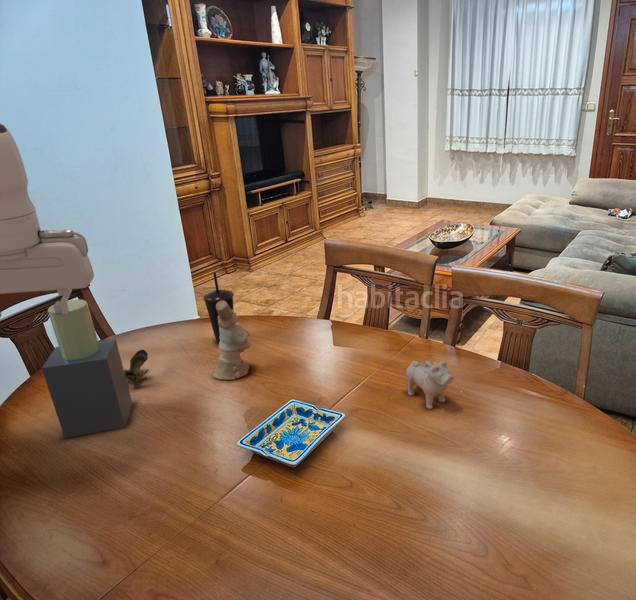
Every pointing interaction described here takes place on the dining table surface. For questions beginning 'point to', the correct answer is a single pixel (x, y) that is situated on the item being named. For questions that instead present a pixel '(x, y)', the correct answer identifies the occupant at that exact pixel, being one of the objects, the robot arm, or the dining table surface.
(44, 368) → the stand
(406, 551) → the dining table surface
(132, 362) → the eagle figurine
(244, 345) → the figurine
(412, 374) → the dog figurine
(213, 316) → the drinking cup
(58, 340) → the green cup
